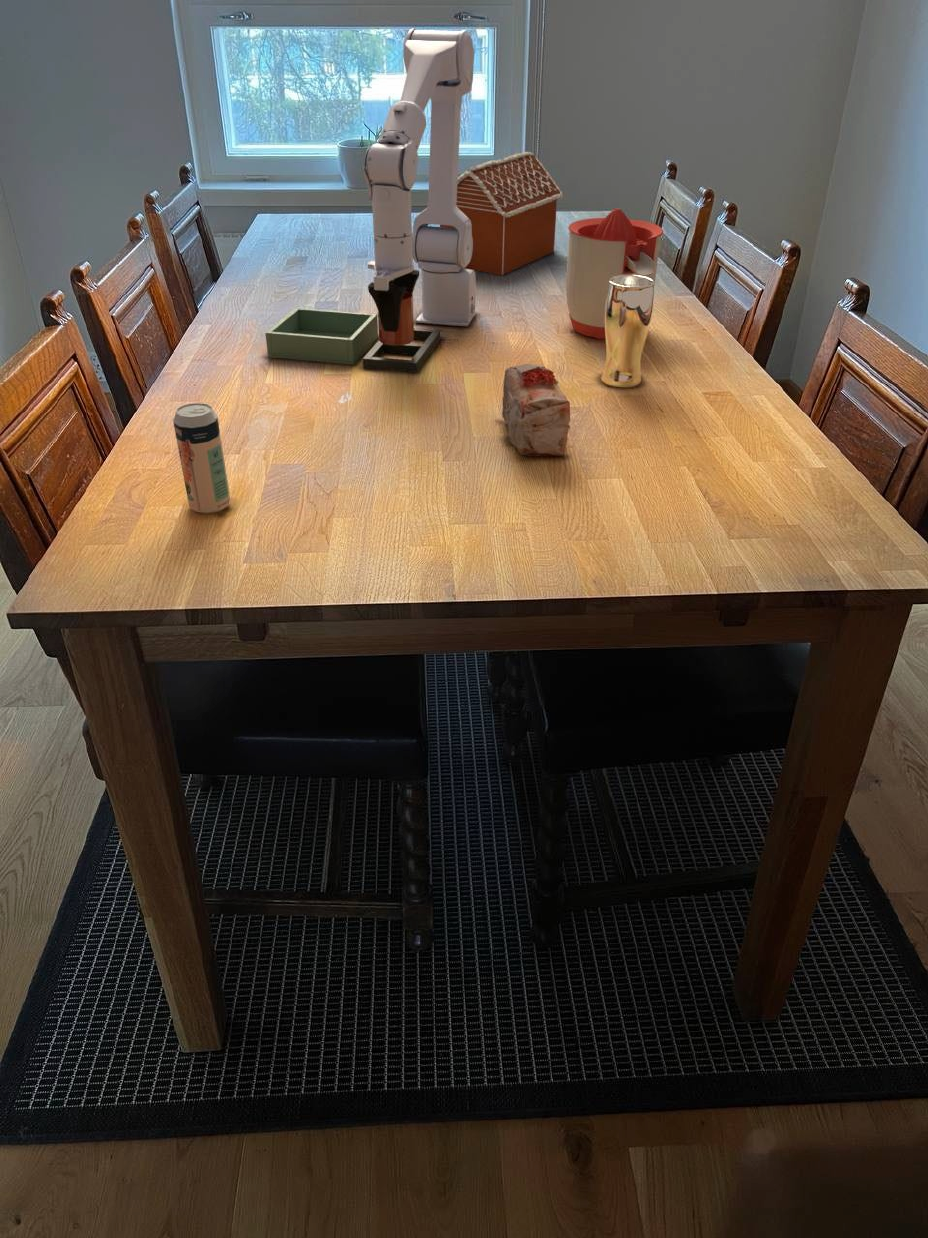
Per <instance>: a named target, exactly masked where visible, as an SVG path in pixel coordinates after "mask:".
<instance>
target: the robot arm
mask: <svg viewBox="0 0 928 1238" xmlns="http://www.w3.org/2000/svg"><path fill="white" fill-rule="evenodd" d="M402 49H403V50H402V57H403V63H404V67H405V72H406V76H405V81H404V85H403V89H402V93H401V97H400V101H397V102H395V103H393V104H392V105H391V106H390V108H389V110H388V112H387V115H386V118H385V120H384V124H383V126H382V129H381V132H380V134H379V137H378V138H377V139H378V140H377V142H376V143H374V144H372V145H371V146H369V147H368V148H367V149H366V151H365V154H364V158H363V159H364V160H363V168H362V169H363V178H364V181H365V184H366V186H367V197H368V200H369V201H371V206H372V207H371V209H372V226H373V227H372V228H373V249H374V260H371V261H369V262H368V263H367V269H369V270H373V271H374V276H373V282H370V283H369V284H368V285H367V289H368V293H369V295H370V296H371V298H372V300H373V301H374V304H375V307H376V309H377V313H378V312H379V316H380V319H381V323H382V327H383V329H384V331H390V332H397V330H398V326H399V318H400V308H401V303H402V299H403V296H404V293H405V291H408V292H410V293H412V295H413V294H414V290H415V286H416V284H417V281H418V279H419V277H420V271H419V270H417V269H415V264H414V263H416V264H417V268H418V269H420V270H421V313H420V314H419V315H418V316H417V318H415V323H417V324H429V325H443V326H452V327H453V326H455V327H468V326H469V325H470V323H471V322H472V321H473V319H474V317H475V316H476V314H477V311H476V295H477V294H476V290H477V289H476V287H477V286H476V285H477V282H476V281H477V279H476V272H475V271H476V270H472V269H466V268H465V267H466V266H467V265H468V264H469V262H470V260H471V257H472V250H473V239H472V224H471V221H470V219H469V218H468V217H467V216H466V215H465V214H464V213H463V212H462V211H461V210H460V209H459V208H458V207H457V206H456V202H457V180H458V177H459V176H458V175H459V158H460V157H459V155H460V133H461V113H462V110H461V109H462V102H463V97H464V96H465V95H467V94H469V93H471V91H472V88H473V87H472V85H473V82H474V67H475V66H474V64H475V48H474V42H473V39H472V35H471V34H470V32H469V31H468V30H466V29H462V30H435V29H434V30H433V29H431V30H429V29H417V28H410V29H409V30H408V31H407V33H406V35H405V37H404V40H403V48H402ZM429 101H430V102H431V106H430V132H429V133H430V134H429V135H430V137H429V164H428V165H429V166H428V167H429V168H428V195H427V198H428V200H427V207H426V208H424V209H423V210H422V211H421V212H419V213H418V214H417V215H416V216H415V217H414V219H413V221H412V191H411V190H412V189H413V187H414V184H415V183H416V179H417V173H418V163H419V154H418V150H419V148H420V144H421V142H422V139H423V137H424V133H425V130H426V128H427V118H426V115H425V113H424V112H425V109H426V108H427V106H428V104H429ZM412 222H413V225H412ZM431 225H433V226H431ZM434 225H439V226H434ZM440 225H449V226H454V227H455V228H445V227H440Z"/></svg>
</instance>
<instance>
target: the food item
mask: <svg viewBox="0 0 928 1238" xmlns="http://www.w3.org/2000/svg"><path fill="white" fill-rule="evenodd" d="M554 372H555V371H552V370H550V369H549V368H547V367H545V366H543V365H539V364H538V365H537V364H532V363H531V364H530V363H529V364H528V363H525V364H520V365H515V366H510V367H507V368H506V369H505V370H504V376H503V377H504V378H503V385H502V386H503V387H502V391H503V396H502V412H501V413H502V414H501V415H502V418H503V420H504V422H505V424H506V425H507V430H508V434H507V435H508V442H510V443H511V444H512V445H513V446H514V447H515V448H516V449H517V450H518V454H519V455H520V456H528V457H556V456H557V457H559V456H562V457H563V456H564V454H565V452H566V448H567V442H568V435H569V430H570V429H571V425H570V422H571V402H570V401H569V400H568V398H567V396H566V395H565V393H564V391H563V390H562V389H561V388H560V386H559V385H558V384H559V380H557V378H555V375H554Z"/></svg>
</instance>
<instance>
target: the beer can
mask: <svg viewBox="0 0 928 1238" xmlns="http://www.w3.org/2000/svg"><path fill="white" fill-rule="evenodd" d="M172 423H173V428H174V429H173V430H174V434H175V438H176V445H177V449H178V454H179V460H180V465H181V470H182V471H181V472H182V475H183V481H184V486H185V492H186V497H187V502H188V507H189V509H191V510H192V511H194V512H197V513H199V514H204V515H205V514H207V515H208V514H216V513H219V512H221V511H223V510H224V509H225V508H227V507H228V506H229V505H230V504H231V502H232V501H231V494H230V487H229V480H228V475H227V469H226V468H227V467H226V461H225V456H224V455H225V454H224V449H223V444H222V443H223V442H222V437H221V436H222V435H221V430H220V424H219V418H218V414H217V413H216V411H215V410H214V409H213V407H212V406H211V405H209V404H207V403H200V402H193V403H187V404H186V403H185V404H183V405H181V406H179V407H177V408H176V411H175V414H174V417H173V418H172Z"/></svg>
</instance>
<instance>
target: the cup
mask: <svg viewBox="0 0 928 1238" xmlns="http://www.w3.org/2000/svg"><path fill="white" fill-rule="evenodd" d="M377 320H378V341H380V342H381V343H383V344H386V345H393V346H399V345H406V344H409V343H413V342H414V340H415V339H414V328H415V325H414V323H415V322H414V295H413V294H412V293H410V292H408V291H405V293H404V296H403V299H402V303H401V308H400V318H399V326H398V330H397V332H390V331H384V329H383V327H382V323H381V319H380V316H379V312H378V311H377Z"/></svg>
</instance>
